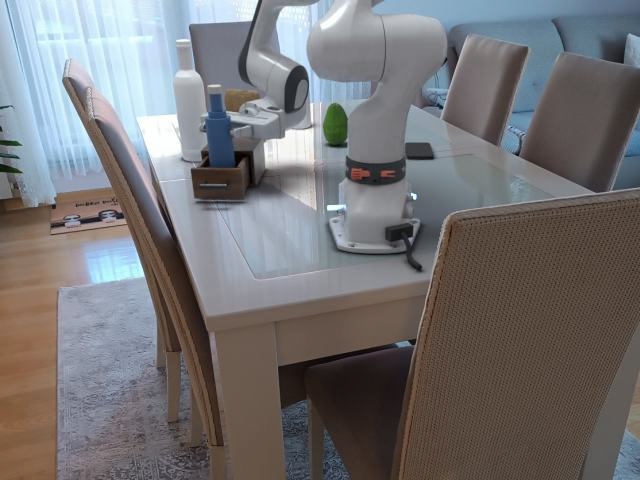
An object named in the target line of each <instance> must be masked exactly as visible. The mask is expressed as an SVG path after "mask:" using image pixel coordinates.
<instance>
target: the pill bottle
mask: <svg viewBox="0 0 640 480" xmlns="http://www.w3.org/2000/svg"><path fill="white" fill-rule="evenodd" d="M305 103H306V107H307V110H306V115H305V118H304V119H303V121H302V122H301V123H300V124H298V125H297V126H296V127H294V128H292V129H291V130H293V129H294V130H303V129H304V130H305V129H308V128H310V127H311V126H312V113H311V93H310V90H309V92H308V96H307V99H306V101H305Z"/></svg>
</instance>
